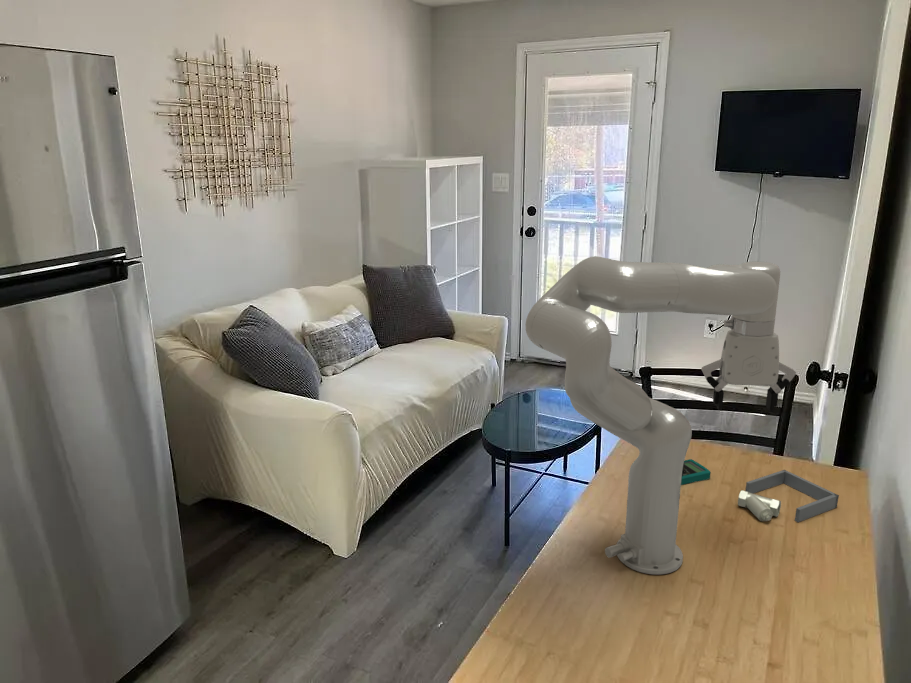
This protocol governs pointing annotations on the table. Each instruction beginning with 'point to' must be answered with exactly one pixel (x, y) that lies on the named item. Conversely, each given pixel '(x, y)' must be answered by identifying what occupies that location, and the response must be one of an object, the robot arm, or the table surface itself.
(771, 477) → the gray u-shaped frame
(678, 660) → the table surface
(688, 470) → the digital multimeter
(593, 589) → the table surface
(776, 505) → the pipe fitting
